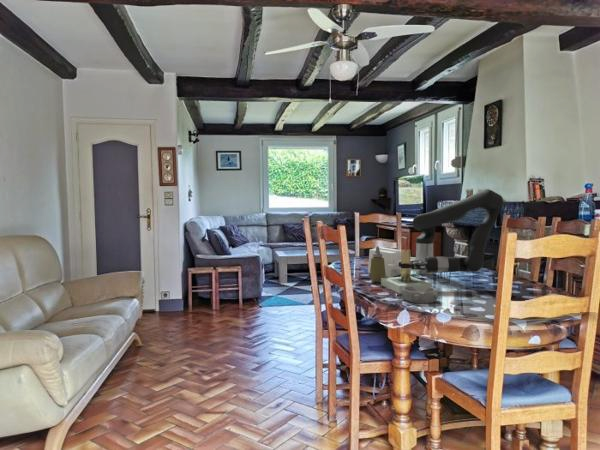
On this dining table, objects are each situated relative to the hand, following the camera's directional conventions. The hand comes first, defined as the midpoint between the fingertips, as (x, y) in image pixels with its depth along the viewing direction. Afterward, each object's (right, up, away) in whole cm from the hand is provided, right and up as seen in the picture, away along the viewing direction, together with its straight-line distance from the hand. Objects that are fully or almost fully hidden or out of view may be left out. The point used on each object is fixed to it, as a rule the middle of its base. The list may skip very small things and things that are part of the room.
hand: (400, 265), depth 200 cm
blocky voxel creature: (+6, -9, +34) cm, 36 cm away
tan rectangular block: (+3, -9, 0) cm, 9 cm away
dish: (+3, -13, -23) cm, 26 cm away
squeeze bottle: (-7, -10, +18) cm, 22 cm away
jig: (+3, -11, +1) cm, 11 cm away
